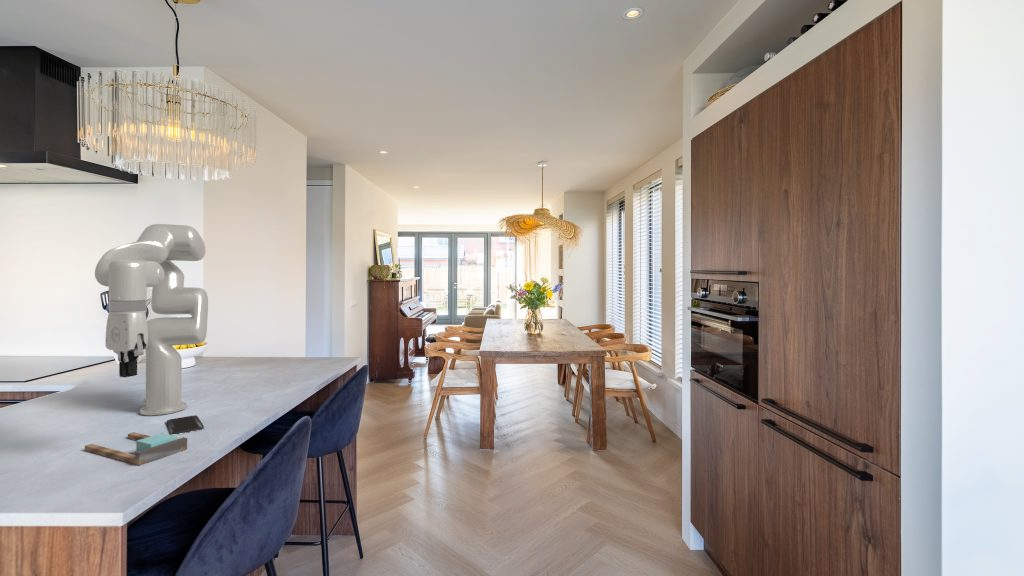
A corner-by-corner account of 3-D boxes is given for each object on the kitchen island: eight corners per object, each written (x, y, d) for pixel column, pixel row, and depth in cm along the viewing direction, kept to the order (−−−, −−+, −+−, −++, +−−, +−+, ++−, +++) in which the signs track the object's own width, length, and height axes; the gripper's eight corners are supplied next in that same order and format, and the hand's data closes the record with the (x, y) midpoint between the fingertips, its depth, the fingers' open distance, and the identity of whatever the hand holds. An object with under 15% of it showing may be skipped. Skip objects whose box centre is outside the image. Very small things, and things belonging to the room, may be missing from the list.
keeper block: (136, 456, 112) (136, 440, 112) (162, 447, 117) (162, 433, 117) (150, 460, 110) (150, 444, 110) (176, 451, 115) (176, 436, 115)
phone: (196, 414, 142) (204, 426, 131) (196, 418, 142) (204, 430, 131) (165, 420, 137) (171, 432, 126) (165, 423, 137) (171, 436, 126)
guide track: (84, 450, 114) (84, 439, 114) (133, 436, 124) (133, 426, 124) (139, 465, 106) (139, 453, 106) (187, 449, 116) (187, 438, 116)
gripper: (93, 306, 114) (93, 376, 115) (129, 309, 109) (129, 382, 109) (127, 305, 121) (127, 370, 122) (162, 307, 116) (162, 376, 116)
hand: (128, 376), depth 116 cm, fingers closed
